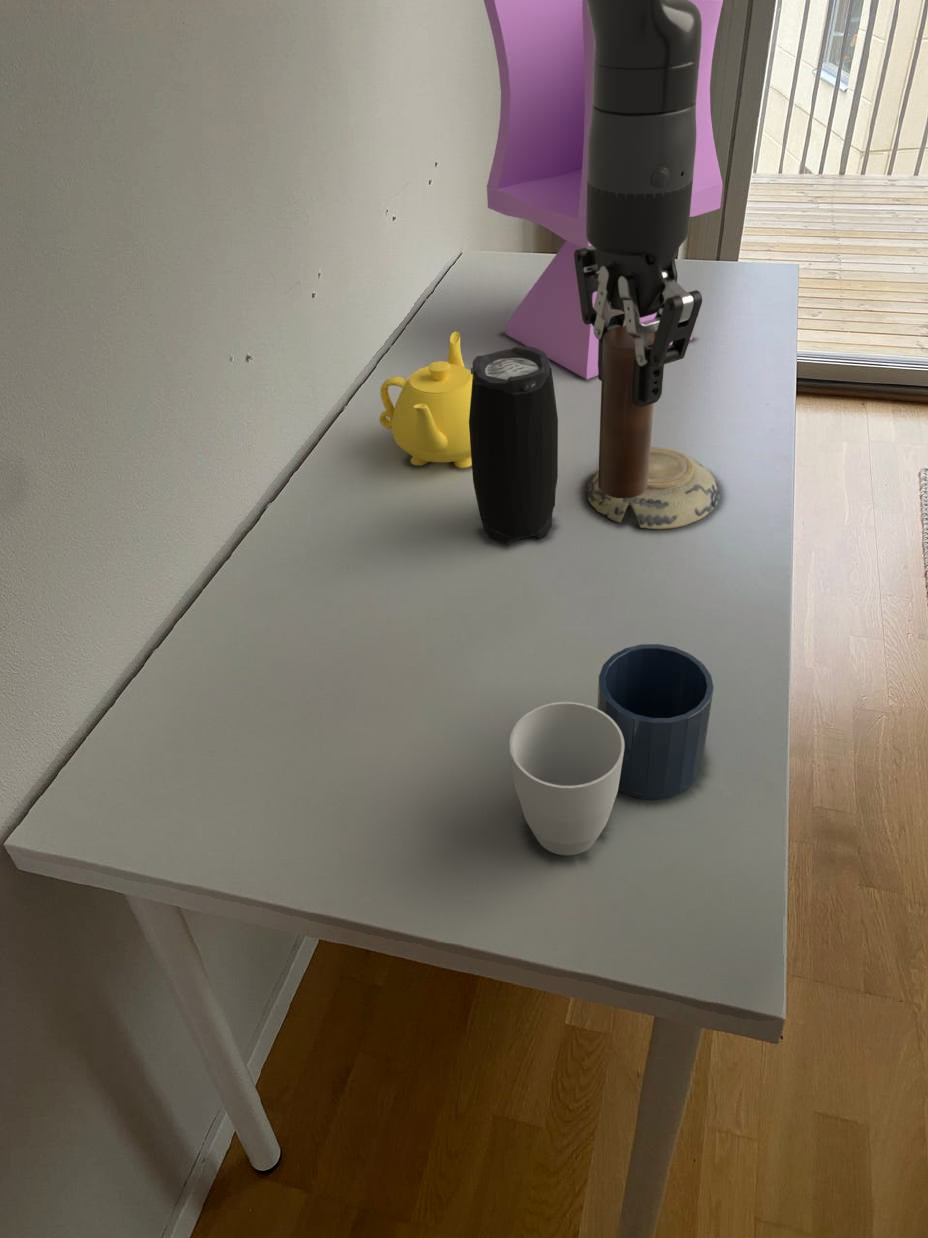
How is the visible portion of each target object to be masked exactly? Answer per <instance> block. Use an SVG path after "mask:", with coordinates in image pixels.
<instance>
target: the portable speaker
mask: <svg viewBox="0 0 928 1238" xmlns="http://www.w3.org/2000/svg"><path fill="white" fill-rule="evenodd" d="M471 363H472V364H471V365H472V366H471V367H470V372H471V374H473V379H472V391H471V402H470V414H469V431H470V446H471V460H472V465H471V472H472V483H473V489H474V494H475V499H476V503H477V509H478V513H479V520H480V521H481V525H482V529H483V532H484V533H485V534H486V536H487V537H488V539H489V540H492V541H494V542H497V543H499V544H502V545H508V544H509V543H511V542H512V541H513V540H514V541H515V540H518V539H525V538H529V537H534V536H537V537H538V538H539V539H542V538H545V537H547V535H548V534H549V532H550V531H551V529H552V527H553V526H552V525H553V512H554V508H555V507H556V495H557V494H556V493H557V483H558V475H559V474H558V473H559V472H558V471H559V470H558V469H559V465H558V463H559V458H558V456H559V452H558V451H559V417H558V409H557V401H556V392H555V385H554V378H553V377H554V376H553V369H552V367H551V362H550V359H549V358H548V357H547V355H546V354H545V352H543V351H541V350H539V349H537V348H535V347H528V346H526V345H524V346H523V345H516V346H513V347H511V348H507V349H503V350H499V351H495V352H491V353H488V354H484V355H476V356H475V358H474V359H473V360H472V362H471Z"/></svg>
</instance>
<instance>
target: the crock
mask: <svg viewBox="0 0 928 1238" xmlns="http://www.w3.org/2000/svg"><path fill="white" fill-rule="evenodd" d="M711 674H712V673H710V672H709V670H708V668H707V667H706V665H705V664H704V663H703V662H702V661H701V660H699V659H698V658H697V657H695V655H693V654H691V653H689V652H687V651H685V650H683V649H680V648H678V647H675V646H670V645H665V644H661V643H644V644H643V643H642V644H637V645H633V646H629V647H626V648H622V649H621V650H619V651H617V652H615V653H614V654H612V655H610V657H609V658H608V659H607V660H606V661H605V662H604V664H602V667H601V670H600V672H599V674H598V684H597V685H598V687H597V688H598V689H597V691H598V692H597V709H599V710H600V711H602V712H604V713H605V714H607V715H608V716H609V717H610V718H612V719H613V720H614V721H615V723H616V724H617V725H618V727H619V728H620V730H621V732H622V735H623V738H624V755H623V761H622V768H621V774H620V781H619V787H618V791H619V792H620V793H622V794H624V795H627V796H630V797H633V798H638V799H641V800H650V801H651V800H653V801H655V800H664V799H670V798H674V797H676V796H678V795H680V794H682V793H684V792H686V791H688V789H689V788H691V787H692V786H693V785H694V784H695V783H696V781H697V780H698V778H699V776H700V773H701V770H702V764H703V762H704V761H703V760H704V754H705V748H706V741H707V735H708V728H709V721H710V714H711V709H712V702H713V695H714V689H715V687H714V683H713V678H712V675H711Z"/></svg>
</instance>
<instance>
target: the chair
mask: <svg viewBox="0 0 928 1238" xmlns="http://www.w3.org/2000/svg"><path fill="white" fill-rule="evenodd" d="M689 1H690V2H692V3H693V4H695V6H696V7H697V8H698V10H699V12H700V15H701V22H702V40H701V53H700V63H699V74H698V86H697V97H696V130H697V137H696V152H695V163H694V174H693V185H692V196H691V207H690V218H692V217H693V218H694V217H698V216H700V215H704V214H707V213H711V212H713V211H716V210H719V209H721V205H722V196H723V188H724V187H723V186H724V185H723V179H722V175H721V170H720V169H721V168H720V165H719V159H718V155H717V150H716V144H715V139H714V131H713V123H712V111H711V77H712V66H713V57H714V51H715V45H716V39H717V32H718V26H719V22H720V17H721V14H722V13H721V12H722V8H723V3H724V0H689ZM483 3H484V7H485V11H486V15H487V18H488V22H489V26H490V30H491V34H492V38H493V43H494V50H495V54H496V60H497V66H498V74H499V75H498V76H499V86H500V115H499V116H500V117H499V124H498V131H497V132H498V133H497V138H496V139H497V140H496V144H495V150H494V155H493V158H492V164H491V166H490V167H491V168H490V171H489V176H488V180H487V184H486V197H487V199H486V200H487V209H490V210H492V211H494V212H496V213H499V214H501V215H504V216H507V217H513V218H516V219H517V218H518V219H522V220H527V221H528V222H531V223H533V224H536V225H538V226H541V227H543V228H545V229H547V230H549V231H550V232H552V233H553V234H555V235H557V236H558V237H560V238H561V239H563V240H565V242H564V244H563V245H562V246H561V247H560V249H559V251H557V253H556V254H555V256H554V257H553V259H552V260H551V261H550V262H549V264H548V265H547V267H546V268H545V269H544V270H543V272H542V273H541V275H540V276H539V278H538V279H536V281H535V283H534V284H533V286H532V287H531V288H530V290H529V291H528V292H527V294H526V295H525V297H524V298H523V299H522V301H521V302H520V303H519V305H518V306H517V307H516V309H515V311H513V313H512V314H511V316H510V317H509V319H508V320H507V321H506V322H505V335H506V336H508V337H509V338H512V339H513V340H515V341H517V342H519V343H521V344H523V345H524V346H526V347H535V348H537V349H539V350H541V351H543V352H545V354H546V355H547V357H548V359H549V360H551V361H553V362H554V363H556V364H558V365H560V366H562V367H564V368H565V369H567V370H569V371H570V372H573V373H575V374H576V375H578V376H580V377H581V378H583V379H585V380H589V379H593V378H595V377H598V355H599V354H598V343H599V339H597V338H596V337H595V335H594V330H593V329H594V327H593V325H592V324H589V325H586V324H585V323H584V322H583V319H582V313H581V306H580V298H579V290H578V283H577V275H576V268H575V260H574V252H575V251H576V250H578V249H582V248H584V247H588V246H592V245H591V244H590V243H589V242H588V240H587V237H586V210H587V164H588V138H589V130H590V124H591V117H592V105H593V103H592V98H593V61H594V60H593V59H594V36H593V30H592V25H591V20H590V15H589V10H588V6H587V1H586V0H483ZM596 295H597V291H596V292H594V293H593V294H592V302H593V308H594V303H595V299H596ZM656 313H657V312H656ZM656 313H655V314H652V315H649V316H645V317H642V318H640V321H641V323H642V322H645V321H648V320H652V319H654V318H655V316H656ZM693 333H694V331H693V332H692V335H691V338H690V341H692V340H693ZM672 343H673V342H671V343H670V344H669V345H672Z"/></svg>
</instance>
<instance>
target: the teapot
mask: <svg viewBox="0 0 928 1238" xmlns="http://www.w3.org/2000/svg"><path fill="white" fill-rule="evenodd" d="M448 342H449V343H448V351H447V359H446V361H442V360H441V361H440V360H439V361H434V362H432V363H430V364H429V365H426V366H424V367H421V368H419V369H417V370H416V371H414V372H413V373H412V374H411V375H410V376H409V377H408V379H406V378H404V377H401V376H392V377H389V378H387V379H385V381H383V383H381V386H380V389H379V390H380V400H381V402H382V404H383V407H384V411H382V412H381V413H380V415H379V423H380V425H381V427H384V428H386V429H388V430H391V431H392V437H393V439H394V441H395V443H396V444H397V445H398V446H399V447H400V448H401V449H402V450H403V451H404V452H405V453H408V454H409V455H410V456H412V457H411V458H410V464H412V465H414V466H423V465H426V464H428V463H430V462H431V463H451V462H453V463H454V466H455V467H456V468H459V469H466V468H469V467H472V460H471V446H470V431H469V414H470V402H471V391H472V379H473V374H471V370H470V369H468V368H466V367H465V364H464V360H463V357H462V352H461V351H462V350H461V334H460V332H459V331H454V332H452V333H451V334H450V337H449V341H448ZM390 386H396V387H400V388H402V389H401V391H400V393H399V395H398V397H397V400H396V402H395V405H394V404H393V402H392V399H391V396H390V393H389V387H390ZM387 417H388V418H387Z"/></svg>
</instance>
